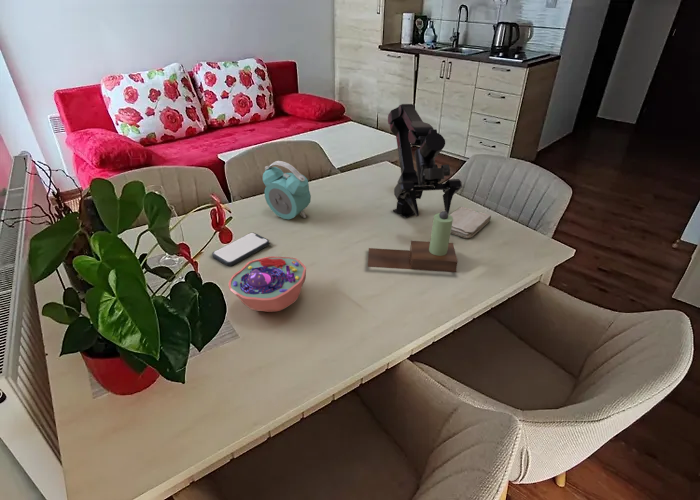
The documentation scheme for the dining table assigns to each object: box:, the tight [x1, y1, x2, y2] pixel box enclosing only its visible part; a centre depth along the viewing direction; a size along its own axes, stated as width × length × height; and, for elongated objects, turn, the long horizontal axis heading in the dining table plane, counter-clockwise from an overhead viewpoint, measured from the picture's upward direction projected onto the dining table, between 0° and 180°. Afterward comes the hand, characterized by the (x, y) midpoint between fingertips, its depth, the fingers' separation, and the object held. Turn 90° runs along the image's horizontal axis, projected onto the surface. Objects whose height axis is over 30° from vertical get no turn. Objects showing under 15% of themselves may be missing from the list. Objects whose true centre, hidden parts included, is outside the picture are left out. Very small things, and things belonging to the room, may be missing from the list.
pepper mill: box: [429, 210, 453, 256], centre depth 121 cm, size 5×5×13 cm
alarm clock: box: [262, 160, 312, 220], centre depth 146 cm, size 17×10×20 cm, turn 58°
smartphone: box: [212, 232, 270, 267], centre depth 131 cm, size 9×2×16 cm
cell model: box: [228, 256, 307, 313], centre depth 109 cm, size 17×20×11 cm
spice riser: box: [367, 240, 459, 273], centre depth 127 cm, size 10×25×5 cm, turn 86°
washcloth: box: [449, 206, 492, 239], centre depth 148 cm, size 12×18×3 cm, turn 142°
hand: (432, 215), depth 127 cm, fingers open, 9 cm apart
